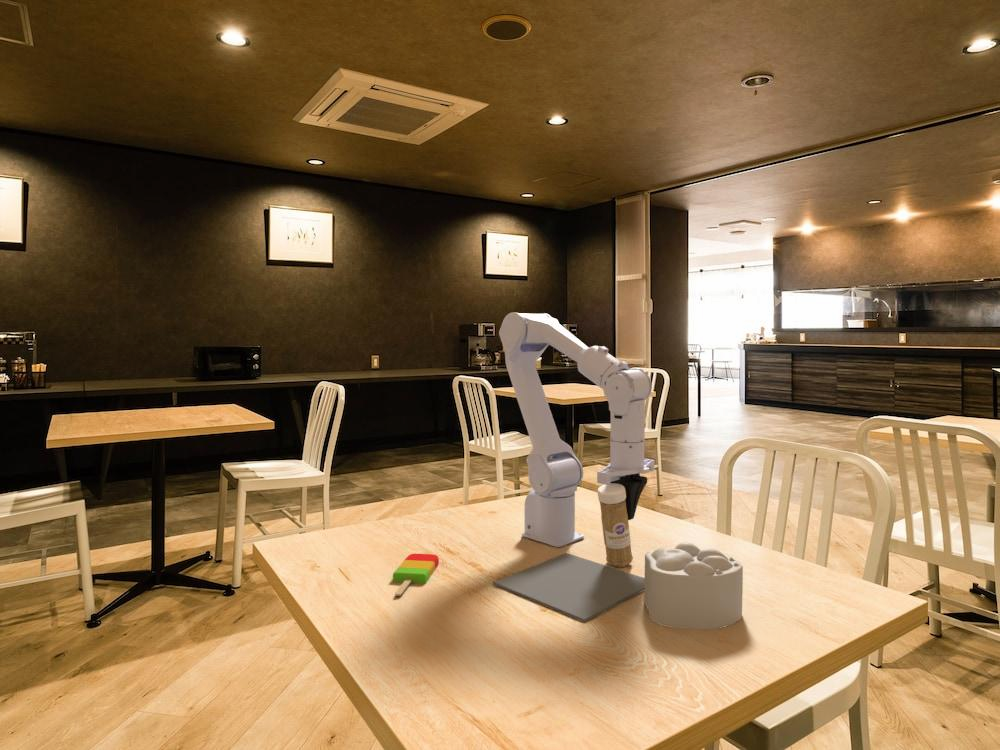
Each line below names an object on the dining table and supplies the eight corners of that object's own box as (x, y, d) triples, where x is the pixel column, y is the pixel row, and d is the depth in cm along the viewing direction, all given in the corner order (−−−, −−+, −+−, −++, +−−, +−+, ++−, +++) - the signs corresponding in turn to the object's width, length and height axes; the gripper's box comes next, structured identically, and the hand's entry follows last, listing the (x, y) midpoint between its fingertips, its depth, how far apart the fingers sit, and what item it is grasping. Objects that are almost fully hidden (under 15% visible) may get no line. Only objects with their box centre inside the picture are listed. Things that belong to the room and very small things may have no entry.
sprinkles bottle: (616, 570, 102) (607, 496, 99) (601, 559, 106) (591, 487, 103) (639, 561, 104) (630, 487, 101) (622, 550, 108) (614, 479, 105)
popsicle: (440, 564, 106) (440, 553, 106) (415, 601, 91) (415, 589, 91) (409, 562, 107) (409, 552, 107) (379, 599, 92) (379, 587, 92)
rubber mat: (492, 584, 96) (492, 581, 96) (566, 555, 109) (566, 552, 109) (584, 622, 84) (584, 619, 84) (655, 584, 96) (655, 581, 96)
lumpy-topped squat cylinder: (641, 594, 93) (642, 538, 92) (730, 597, 92) (731, 540, 91) (652, 627, 82) (653, 564, 82) (752, 631, 81) (754, 567, 81)
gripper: (623, 448, 97) (622, 533, 98) (670, 437, 107) (669, 514, 108) (587, 443, 102) (586, 523, 103) (635, 433, 112) (634, 506, 113)
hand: (626, 518), depth 106 cm, fingers closed
